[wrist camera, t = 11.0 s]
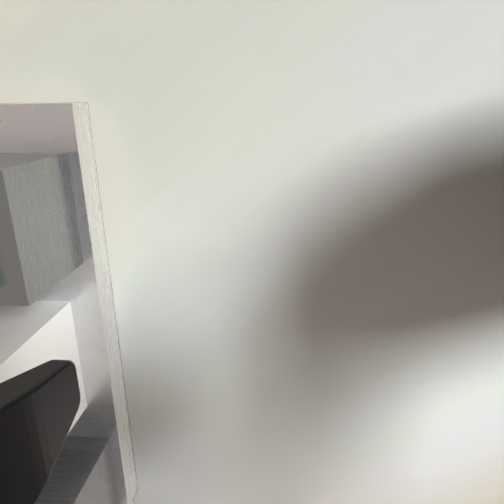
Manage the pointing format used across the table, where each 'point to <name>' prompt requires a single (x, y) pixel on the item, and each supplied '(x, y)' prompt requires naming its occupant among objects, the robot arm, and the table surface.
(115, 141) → the table surface
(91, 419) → the rail
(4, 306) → the block
